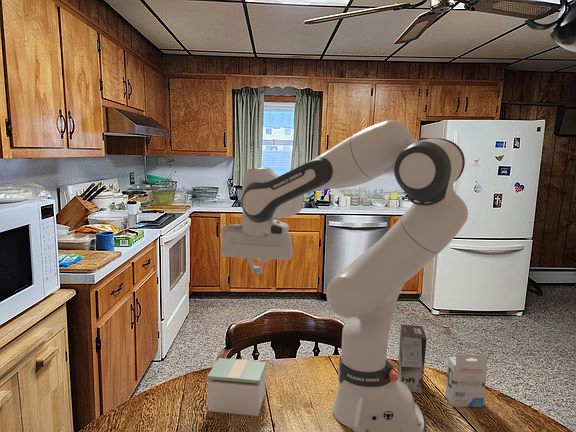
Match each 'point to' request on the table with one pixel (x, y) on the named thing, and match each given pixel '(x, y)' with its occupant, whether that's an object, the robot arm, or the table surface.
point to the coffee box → (412, 357)
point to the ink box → (466, 380)
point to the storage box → (236, 396)
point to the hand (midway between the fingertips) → (256, 272)
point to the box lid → (237, 370)
